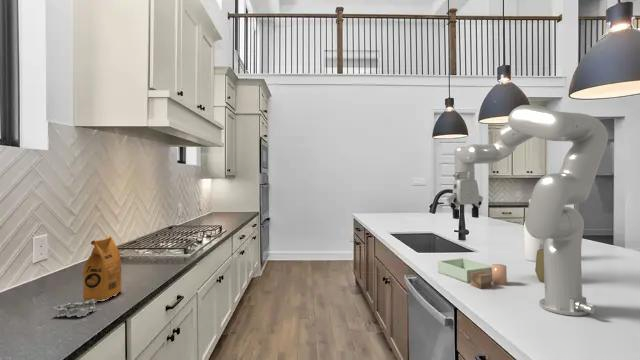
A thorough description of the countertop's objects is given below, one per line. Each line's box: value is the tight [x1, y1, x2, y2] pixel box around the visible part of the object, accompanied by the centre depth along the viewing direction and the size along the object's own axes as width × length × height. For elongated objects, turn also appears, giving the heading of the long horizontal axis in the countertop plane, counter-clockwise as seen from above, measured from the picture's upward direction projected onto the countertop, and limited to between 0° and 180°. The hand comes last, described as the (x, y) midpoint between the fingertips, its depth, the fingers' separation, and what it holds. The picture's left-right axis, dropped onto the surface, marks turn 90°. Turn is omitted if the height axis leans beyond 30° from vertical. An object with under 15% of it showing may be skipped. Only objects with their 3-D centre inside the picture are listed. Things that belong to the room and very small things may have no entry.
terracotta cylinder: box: [491, 263, 508, 287], centre depth 133 cm, size 5×5×7 cm
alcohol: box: [523, 198, 544, 263], centre depth 168 cm, size 9×9×30 cm
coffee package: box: [82, 235, 122, 301], centre depth 127 cm, size 10×12×22 cm
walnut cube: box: [470, 271, 492, 290], centre depth 130 cm, size 5×5×5 cm
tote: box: [437, 257, 492, 284], centre depth 144 cm, size 18×14×5 cm
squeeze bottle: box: [534, 239, 546, 283], centre depth 134 cm, size 8×8×18 cm
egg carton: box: [52, 299, 98, 316], centre depth 111 cm, size 11×8×4 cm
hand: (465, 218), depth 141 cm, fingers open, 9 cm apart
